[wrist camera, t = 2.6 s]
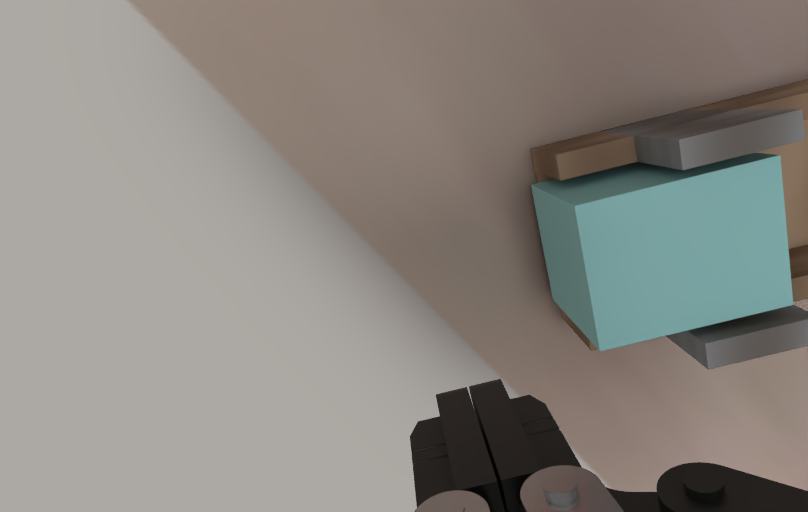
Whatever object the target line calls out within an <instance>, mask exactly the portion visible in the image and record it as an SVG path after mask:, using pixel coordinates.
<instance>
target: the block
mask: <svg viewBox="0 0 808 512" xmlns="http://www.w3.org/2000/svg"><path fill="white" fill-rule="evenodd" d="M531 189H532V194H533V199H534V204H535V209H536V215H537V220H538V225H539V230H540V235H541V241H542V246H543V251H544V256H545V261H546V267H547V272H548V277H549V282H550V287H551V292H552V298H553V300H554V301H555V302H556V304H557V305H558V306H559V307H560V308H561V309H562V310H563V311H564V312H565V313H566V315H567V316H568V317H569V318H570V319H571V320H572V321H573V322H574V323H575V324H576V326H577V327H578V328H579V329H580V330H581V331H582V332H583V333H584V334H585V335H586V337H587V338H588V339H589V340H590V341H591V342H592V343H593V344H594V345H595V346H596V348H597V349H598V350H599V351H604V350H608V349H612V348H616V347H621V346H625V345H629V344H633V343H637V342H641V341H646V340H650V339H654V338H658V337H662V336H666V335H670V334H675V333H679V332H683V331H687V330H691V329H695V328H700V327H704V326H708V325H712V324H716V323H720V322H724V321H729V320H733V319H737V318H741V317H745V316H749V315H753V314H758V313H762V312H766V311H770V310H774V309H778V308H783V307H787V306H791V305H793V295H792V283H791V272H790V260H789V249H788V237H787V226H786V215H785V203H784V192H783V180H782V169H781V157H780V155H775V154H765V153H756V152H755V153H751V154H747V155H743V156H739V157H735V158H731V159H727V160H723V161H719V162H715V163H711V164H707V165H703V166H698V167H694V168H690V169H686V170H678V169H673V168H668V167H663V166H657V165H652V164H647V163H642V162H634V163H630V164H626V165H622V166H618V167H614V168H610V169H606V170H602V171H598V172H594V173H590V174H586V175H582V176H578V177H574V178H570V179H566V180H562V181H560V180H557V179H552V180H548V181H544V182H540V183H536V184H532V185H531Z"/></svg>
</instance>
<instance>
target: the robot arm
mask: <svg viewBox="0 0 808 512" xmlns="http://www.w3.org/2000/svg"><path fill="white" fill-rule="evenodd" d="M469 388H470V394H471V398H472V402H473V405H472V402H471V399H470V396H469V393H468V390H467V387H465V388H461V389H457V390H453V391H449V392H445V393H441V394H437V395H436V398H437V403H438V408H439V413H440V417H435V418H432V419H427V420H423V421H419V422H418V423H417V425H416V426H415V428H414V430H413V432H412V434H411V436H410V441H411V451H412V461H413V471H414V481H415V491H416V502H417V509H416V510H415V512H808V491H805V490H802V489H798V488H795V487H792V486H788V485H785V484H782V483H778V482H775V481H771V480H768V479H765V478H761V477H758V476H755V475H751V474H748V473H745V472H741V471H738V470H735V469H731V468H728V467H725V466H721V465H717V464H711V463H687V464H682V465H679V466H676V467H673V468H671V469H669V470H668V471H666V472H665V473H664V474H663V475H661V477H660V478H659V480H658V483H657V492H624V491H617V490H613V489H609V488H606V487H605V486H604V484H603V483H602V482H601V480H600V479H599V478H598V477H597V476H596V475H595V474H593V473H592V472H590V471H588V470H586V469H584V468H582V467H581V465H580V464H579V462H578V460H577V458H576V457H575V455H574V453H573V451H572V450H571V448H570V446H569V445H568V443H567V441H566V439H565V438H564V436H563V434H562V432H561V431H560V430H559V427H558V425H557V424H556V422H555V420H553V417H552V415H551V413H550V412H549V410H548V408H547V406H546V405H545V404H544V403H543V402H541V401H539V400H537V399H536V398H534V397H532V396H531V395H526V396H522V397H518V398H514V399H510V398H509V396H508V394H507V392H506V390H505V388H504V385H503V383H502V381H501V379H498V380H494V381H490V382H486V383H482V384H477V385H474V386H470V387H469ZM473 407H474V408H473Z"/></svg>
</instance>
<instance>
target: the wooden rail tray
mask: <svg viewBox="0 0 808 512" xmlns="http://www.w3.org/2000/svg"><path fill="white" fill-rule="evenodd" d="M530 150H531V155H532V160H533V165H534V171H535V176H536V181H537V183H540V182H544V181H548V180H552V179H557V180H560V181H562V180H566V179H570V178H574V177H578V176H582V175H586V174H590V173H594V172H598V171H602V170H606V169H610V168H614V167H618V166H622V165H626V164H630V163H634V162H642V163H647V164H652V165H657V166H663V167H668V168H673V169H678V170H686V169H690V168H694V167H698V166H703V165H707V164H711V163H715V162H719V161H723V160H727V159H731V158H735V157H739V156H743V155H747V154H751V153H755V152H756V153H765V154H775V155H780V157H781V169H782V180H783V192H784V203H785V215H786V226H787V237H788V249H789V260H790V272H791V283H792V295H793V302H795V301H799V300H803V299H807V298H808V79H807V80H803V81H799V82H795V83H791V84H787V85H783V86H779V87H775V88H771V89H767V90H763V91H759V92H755V93H751V94H747V95H743V96H739V97H735V98H731V99H727V100H723V101H719V102H715V103H711V104H707V105H703V106H699V107H695V108H691V109H687V110H683V111H679V112H675V113H671V114H667V115H663V116H659V117H655V118H651V119H647V120H643V121H639V122H635V123H631V124H627V125H623V126H619V127H615V128H611V129H607V130H603V131H599V132H595V133H591V134H587V135H583V136H579V137H575V138H571V139H567V140H563V141H559V142H555V143H551V144H547V145H543V146H539V147H535V148H531V149H530ZM561 313H562V318H563V319H564V320H565V321H566V322H567V324H568V325H569V326H570V327H571V328H572V329H573V330H574V332H575V333H576V334H577V335H578V336H579V337H580V338H581V340H582V341H583V342H584V343H585V344H586V345H587V346H588V348H589V349H590V350H591V351H592V350H596V349H597V348H596V346H595V345H594V344H593V343H592V342H591V341H590V340H589V339H588V338H587V337H586V335H585V334H584V333H583V332H582V331H581V330H580V329H579V328H578V327H577V326H576V324H575V323H574V322H573V321H572V320H571V319H570V318H569V317H568V316H567V315H566V313H565V312H564V311H563V310H562V309H561ZM666 336H667V337H668V338H669V339H670V340H672V341H673V342H674V343H675V344H677V345H678V346H679V347H681V348H682V349H683V350H684V351H686V352H687V353H688V354H689V355H691V356H692V357H693V358H694V359H696V360H697V361H698V362H700V363H701V364H702V365H703V366H705V367H706V368H707V369H713V368H717V367H721V366H725V365H729V364H733V363H738V362H742V361H746V360H750V359H754V358H759V357H763V356H767V355H771V354H775V353H779V352H784V351H788V350H792V349H796V348H800V347H805V346H808V312H807V311H805V310H803V309H801V308H799V307H797V306H794V305H791V306H787V307H783V308H778V309H774V310H770V311H766V312H762V313H758V314H753V315H749V316H745V317H741V318H737V319H733V320H729V321H724V322H720V323H716V324H712V325H708V326H704V327H700V328H695V329H691V330H687V331H683V332H679V333H675V334H670V335H666Z"/></svg>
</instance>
